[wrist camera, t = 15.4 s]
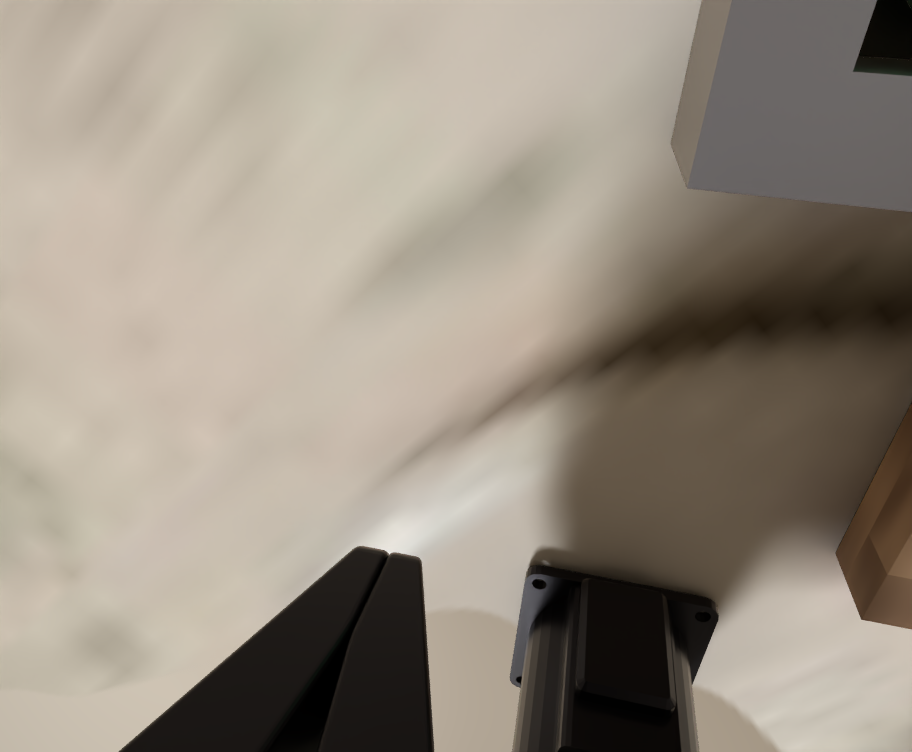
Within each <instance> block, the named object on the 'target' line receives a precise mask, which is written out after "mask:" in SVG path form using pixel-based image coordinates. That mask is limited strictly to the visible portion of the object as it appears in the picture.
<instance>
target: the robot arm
mask: <svg viewBox="0 0 912 752" xmlns="http://www.w3.org/2000/svg"><path fill="white" fill-rule="evenodd" d="M537 579H541V580H544V581H539V580H537ZM718 617H719V615H718V609H717V605H716V603H715V602H714V601H712V600H711V599H709V598H706V597H701V596H696V595H691V594H685V593H680V592H675V591H670V590H665V589H660V588H655V587H649V586H644V585H639V584H634V583H629V582H624V581H618V580H613V579H608V578H603V577H598V576H593V575H588V574H582V573H577V572H572V571H567V570H562V569H557V568H552V567H546V566H539V565H536V566H532V567H530V568H529V569H528V570H527V572H526V578H525V584H524V590H523V597H522V603H521V609H520V616H519V622H518V628H517V635H516V641H515V648H514V654H513V660H512V666H511V673H510V681H511V682H512V684H514V685H515V686H517V687H520V688H521V690H520V696H519V704H518V712H517V719H516V726H515V734H514V742H513V749H512V752H699V744H698V736H697V727H696V718H695V709H694V700H693V692H692V684H693V681H694V679H695V676H696V674H697V671H698V669H699V667H700V664H701V662H702V659H703V657H704V654H705V652H706V649H707V647H708V644H709V642H710V639H711V637H712V634H713V632H714V629H715V627H716V624H717V622H718ZM427 650H428V649H427V634H426V619H425V604H424V589H423V574H422V562H421V560H420V558H419V557H416V556H411V555H406V554H401V553H391V554H390V555H389V554H388V553H387V552H386V551H384V550H380V549H375V548H370V547H365V546H359V547H356V548H354V549H353V550H352V551H351V552H349V553H348V554H347V555H346V556H345V557H344V558H342V559H341V560H340V561H339V562H338V563H337V564H335V565H334V566H333V567H332V568H331V569H330V570H328V571H327V572H326V573H325V574H324V575H323V576H322V577H320V578H319V579H318V580H317V581H316V582H315V583H313V584H312V585H311V586H310V587H309V588H308V589H306V590H305V591H304V592H303V593H302V594H301V595H300V596H298V597H297V598H296V599H295V600H294V601H293V602H291V603H290V604H289V605H288V606H287V607H286V608H284V609H283V610H282V611H281V612H280V613H279V614H278V615H276V616H275V617H274V618H273V619H272V620H271V621H269V622H268V623H267V624H266V625H265V626H264V627H262V628H261V629H260V630H259V631H258V632H257V633H256V634H254V635H253V636H252V637H251V638H250V639H249V640H247V641H246V642H245V643H244V644H243V645H242V646H240V647H239V648H238V649H237V650H236V651H235V652H233V653H232V654H231V655H230V656H229V657H228V658H227V659H225V660H224V661H223V662H222V663H221V664H220V665H218V666H217V667H216V668H215V669H214V670H213V671H212V672H210V673H209V674H208V675H207V676H206V677H205V678H204V679H202V680H201V681H200V682H199V683H198V684H196V685H195V686H194V687H193V688H192V689H191V690H189V691H188V692H187V693H186V694H185V695H184V696H183V697H181V698H180V699H179V700H178V701H177V702H176V703H174V704H173V705H172V706H171V707H170V708H169V709H168V710H166V711H165V712H164V713H163V714H162V715H161V716H159V717H158V718H157V719H156V720H155V721H154V722H152V723H151V724H150V725H149V726H148V727H147V728H145V729H144V730H143V731H142V732H141V733H140V734H138V736H136V737H135V738H134V739H133V740H132V741H130V742H129V743H128V744H127V745H126V746H125V747H123V748H122V749H121V750H120V751H119V752H434V741H433V725H432V710H431V695H430V680H429V665H428V651H427Z"/></svg>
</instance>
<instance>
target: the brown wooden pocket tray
mask: <svg viewBox="0 0 912 752" xmlns="http://www.w3.org/2000/svg"><path fill="white" fill-rule="evenodd" d="M836 556H837V559H838V561H839V564H840V566H841V569H842V571H843V574H844V576H845V579H846V582H847V584H848V587H849V589H850V592H851V594H852V597H853V599H854V602H855V605H856V607H857V610H858V612H859V615H860V617H861V620H866V621H872V622H877V623H882V624H887V625H892V626H897V627H903V628H908V629H912V403H911V405H910V407H909V409H908V411H907V413H906V415H905V417H904V419H903V421H902V423H901V425H900V427H899V429H898V431H897V433H896V435H895V437H894V439H893V441H892V443H891V445H890V447H889V449H888V451H887V453H886V455H885V457H884V459H883V461H882V462H881V464H880V466H879V468H878V470H877V472H876V474H875V476H874V478H873V480H872V482H871V484H870V486H869V488H868V490H867V492H866V494H865V496H864V498H863V500H862V502H861V504H860V506H859V508H858V510H857V512H856V514H855V516H854V518H853V520H852V522H851V524H850V526H849V528H848V530H847V532H846V534H845V536H844V538H843V540H842V542H841V544H840V546H839V548H838V550H837V552H836Z"/></svg>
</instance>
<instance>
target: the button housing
mask: <svg viewBox="0 0 912 752" xmlns="http://www.w3.org/2000/svg"><path fill="white" fill-rule="evenodd" d="M876 2H877V0H702V3H701V7H700V12H699V16H698V21H697V26H696V30H695V35H694V39H693V44H692V49H691V53H690V58H689V62H688V67H687V71H686V76H685V81H684V85H683V90H682V94H681V99H680V104H679V108H678V113H677V117H676V122H675V127H674V131H673V136H672V140H671V146H672V149H673V152H674V154H675V157H676V160H677V163H678V165H679V168H680V171H681V173H682V176H683V179H684V182H685V184H686V187H687V188H688V189H697V190H707V191H716V192H726V193H735V194H745V195H754V196H763V197H773V198H782V199H792V200H801V201H811V202H820V203H830V204H839V205H849V206H858V207H868V208H877V209H887V210H896V211H906V212H912V60H908V59H894V58H881V57H867V56H858V55H859V52H860V49H861V46H862V43H863V40H864V37H865V34H866V31H867V28H868V25H869V22H870V19H871V16H872V14H873V11H874V8H875V5H876Z"/></svg>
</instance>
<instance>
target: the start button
mask: <svg viewBox="0 0 912 752" xmlns="http://www.w3.org/2000/svg"><path fill="white" fill-rule="evenodd" d="M906 1H907V3H908V4H909V6H910V7H911V9H912V0H906Z"/></svg>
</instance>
